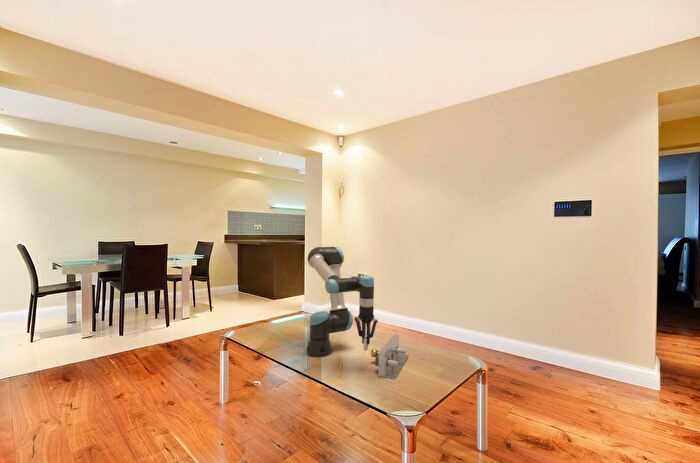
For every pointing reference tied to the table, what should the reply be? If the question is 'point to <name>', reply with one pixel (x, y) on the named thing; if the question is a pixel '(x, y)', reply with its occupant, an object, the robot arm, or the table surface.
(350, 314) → the robot arm
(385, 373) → the panel
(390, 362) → the knob near
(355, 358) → the table surface
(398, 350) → the knob far
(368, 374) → the table surface
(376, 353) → the silver and brass cylinder
